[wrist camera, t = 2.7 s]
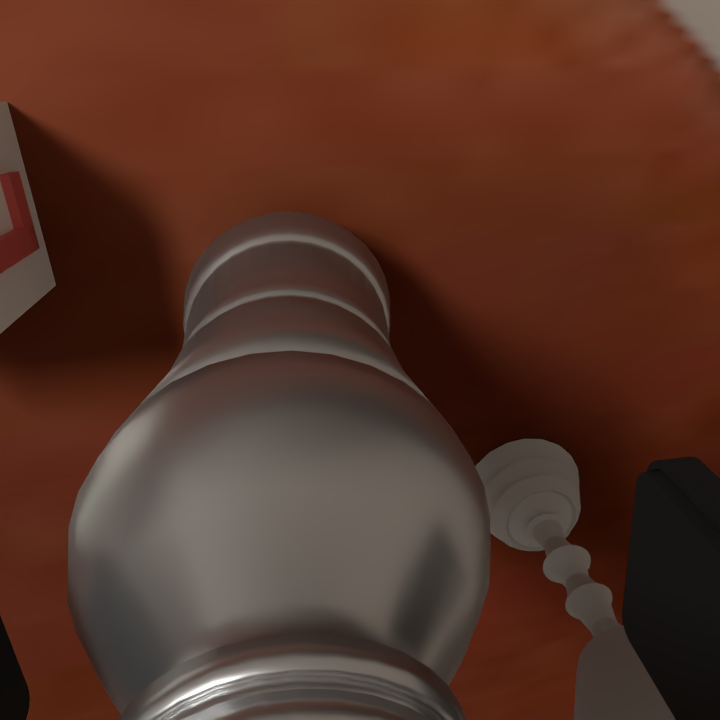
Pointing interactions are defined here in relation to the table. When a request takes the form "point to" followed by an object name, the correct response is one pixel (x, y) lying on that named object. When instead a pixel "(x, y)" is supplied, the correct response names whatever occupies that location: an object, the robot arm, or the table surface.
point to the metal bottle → (281, 505)
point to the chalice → (568, 573)
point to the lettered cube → (18, 233)
